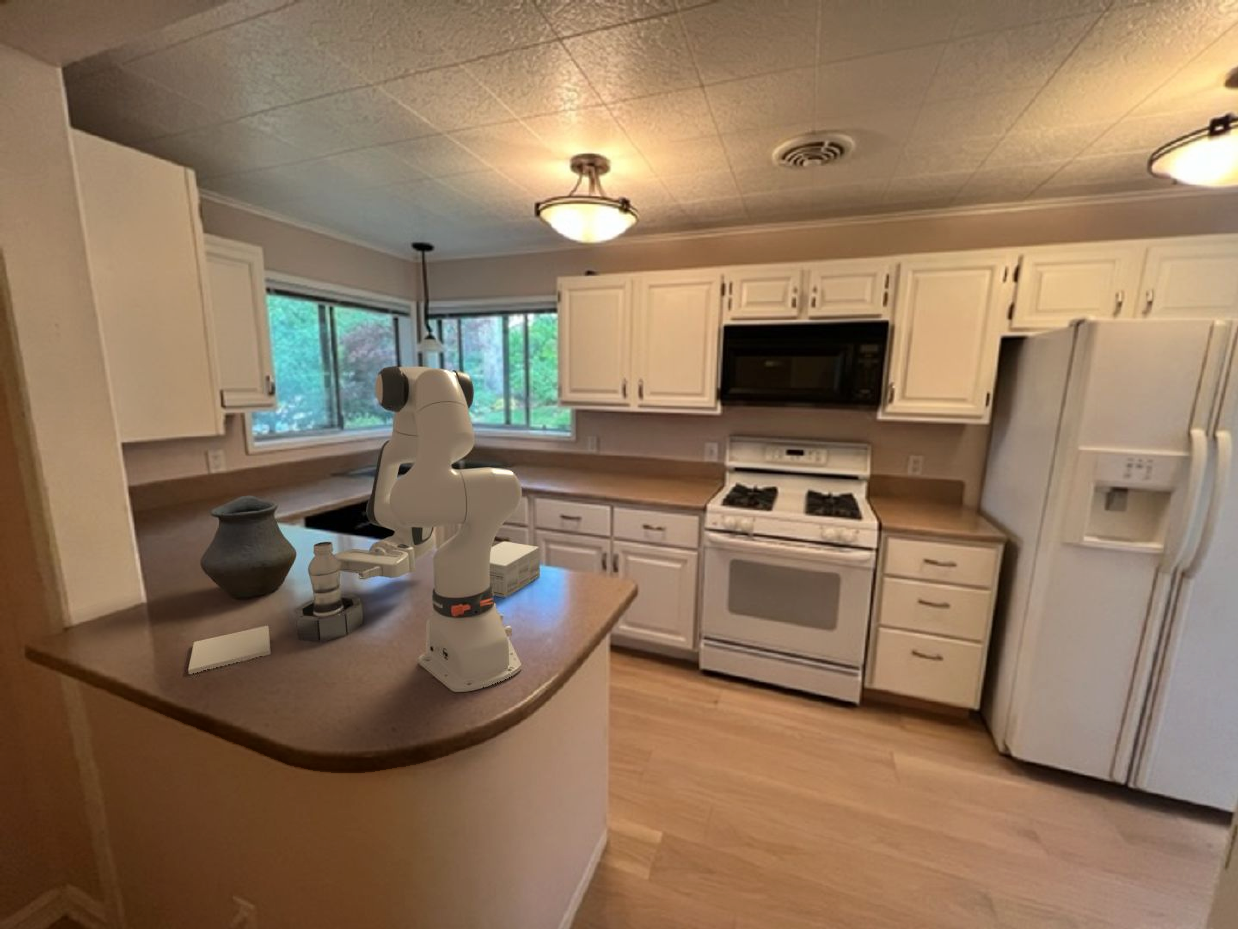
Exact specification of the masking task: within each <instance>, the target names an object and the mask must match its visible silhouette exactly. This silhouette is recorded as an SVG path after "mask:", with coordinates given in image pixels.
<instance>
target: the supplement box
mask: <svg viewBox="0 0 1238 929" xmlns="http://www.w3.org/2000/svg"><path fill="white" fill-rule="evenodd" d="M540 560H541V559H540V547H539V546H536V545H535V546H534V545H529V544H523V543H516V542H510V541H500V542H499V543H498V544H496V545H492V547H491V553H490V583H491V584H492V589H493V593H494V596H497V597H501V598H508V597H509V596H511V595H512V594H515V592H518V591H519V590H521V589H522V588H524V587H526V585H528V584H529V583H531V582H533V581H535V580H536V579H538V578H539V577H540V576H541V573H540V572H541V567H540V565H541V564H540V563H541V562H540ZM534 579H535V580H534Z"/></svg>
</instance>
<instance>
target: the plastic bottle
mask: <svg viewBox="0 0 1238 929" xmlns="http://www.w3.org/2000/svg"><path fill="white" fill-rule="evenodd" d="M333 551H334V548H333V542H332V541H322V542H317V543H315V544H313V555H314V557H313V558H312V559H311V561H310V562H309V564H308V566H307V573H308V576H309V579H310V583H311V589H312V595H313V599H314V610H313V617H324V616H328V615H332V614H337V613H341V612H343V611H345V610H344V607H343V604H342V599H341V595H342V594H341V587H340V586H341V572H342V571H341V564H340V561H339V560H338V558H337V557H336V556H335V555H334V554H335V553H333Z"/></svg>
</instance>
